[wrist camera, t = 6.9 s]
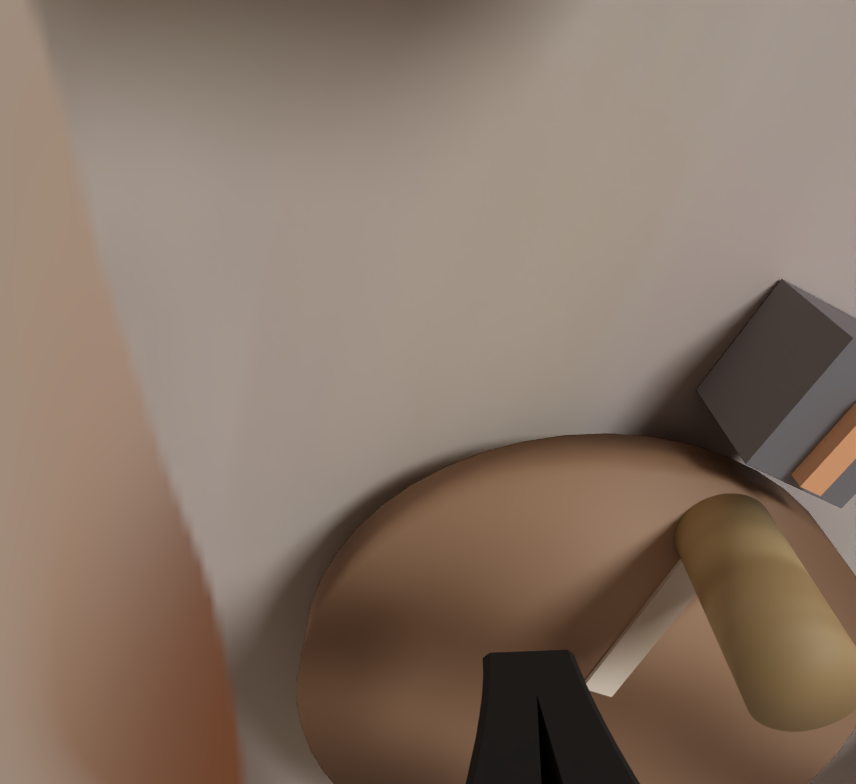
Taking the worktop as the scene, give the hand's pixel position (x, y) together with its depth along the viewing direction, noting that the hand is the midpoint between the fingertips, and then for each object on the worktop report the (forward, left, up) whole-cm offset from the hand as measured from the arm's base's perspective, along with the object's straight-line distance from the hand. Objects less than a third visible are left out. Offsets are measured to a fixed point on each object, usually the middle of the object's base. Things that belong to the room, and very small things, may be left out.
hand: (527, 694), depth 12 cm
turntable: (-4, +4, -6) cm, 8 cm away
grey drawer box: (-4, -5, -7) cm, 10 cm away
